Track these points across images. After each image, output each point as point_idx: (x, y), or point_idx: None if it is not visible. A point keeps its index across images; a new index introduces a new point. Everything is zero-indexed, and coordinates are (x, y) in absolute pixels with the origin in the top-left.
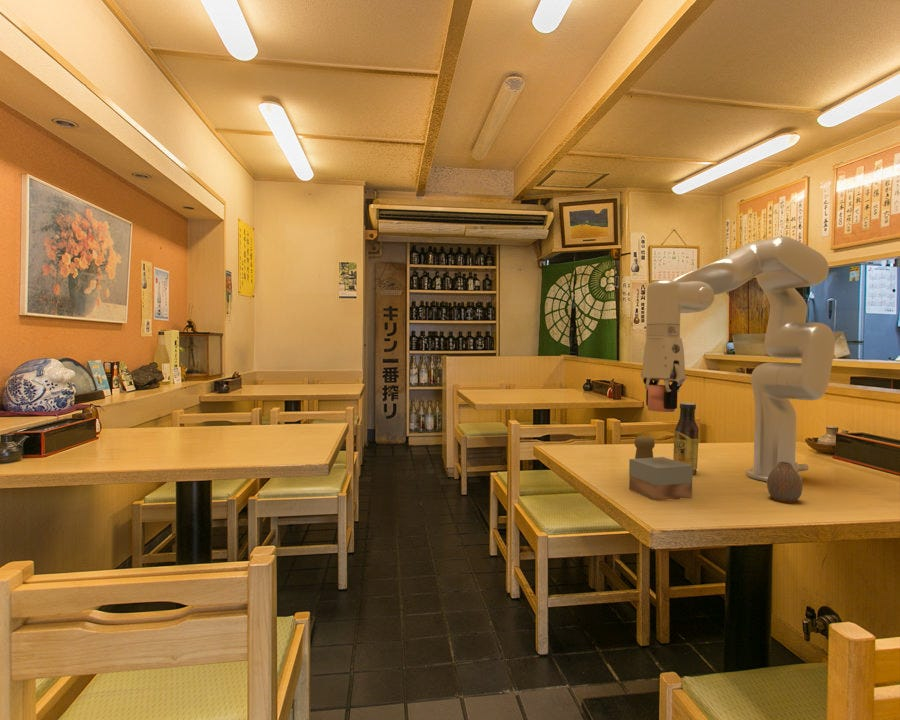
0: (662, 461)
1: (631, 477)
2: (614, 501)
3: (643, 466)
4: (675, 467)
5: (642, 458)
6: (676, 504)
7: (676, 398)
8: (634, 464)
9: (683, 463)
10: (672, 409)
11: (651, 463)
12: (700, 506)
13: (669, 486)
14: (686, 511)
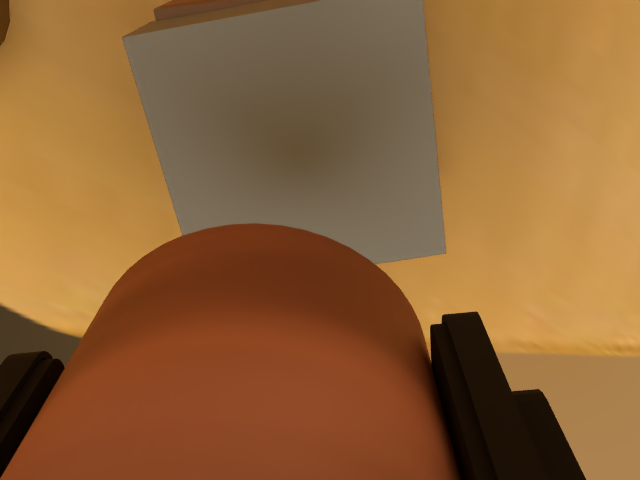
0: (273, 125)
1: None
2: None
3: None
4: (433, 128)
5: (179, 208)
6: (478, 120)
7: (520, 428)
8: None
9: (346, 9)
10: (417, 329)
11: (326, 225)
12: (532, 20)
13: None
14: (576, 134)
